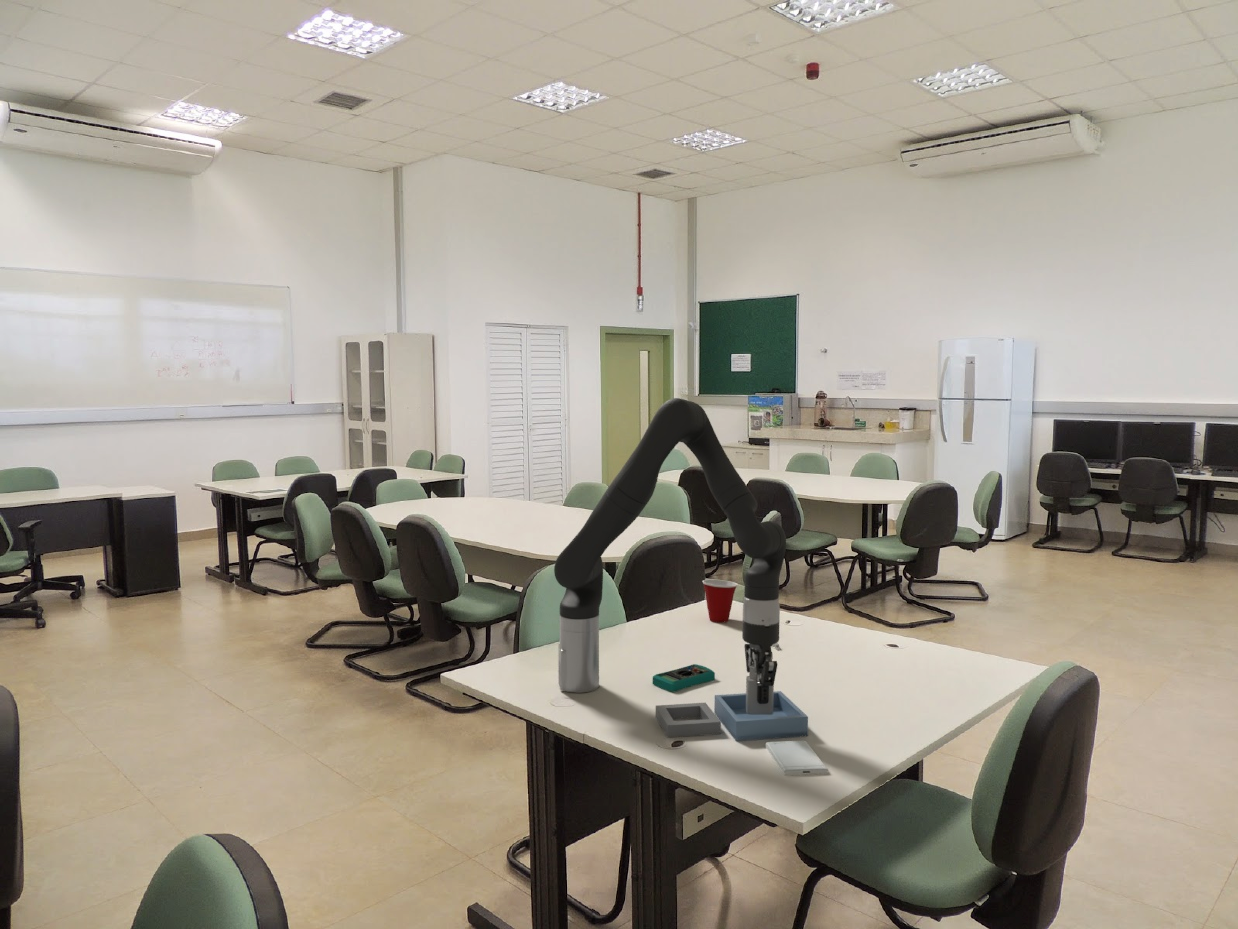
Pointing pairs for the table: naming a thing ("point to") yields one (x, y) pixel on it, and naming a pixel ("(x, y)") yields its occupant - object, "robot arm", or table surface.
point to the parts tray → (760, 718)
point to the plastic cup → (719, 598)
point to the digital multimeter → (683, 677)
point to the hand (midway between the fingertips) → (759, 699)
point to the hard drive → (796, 758)
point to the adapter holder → (691, 727)
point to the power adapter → (751, 696)
